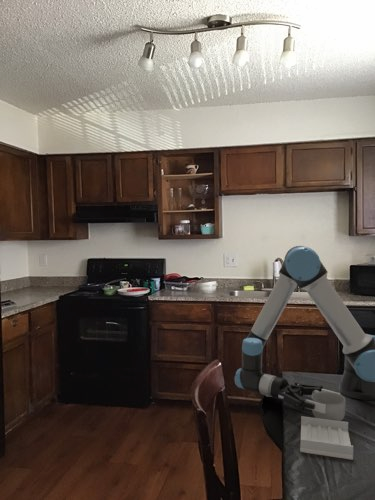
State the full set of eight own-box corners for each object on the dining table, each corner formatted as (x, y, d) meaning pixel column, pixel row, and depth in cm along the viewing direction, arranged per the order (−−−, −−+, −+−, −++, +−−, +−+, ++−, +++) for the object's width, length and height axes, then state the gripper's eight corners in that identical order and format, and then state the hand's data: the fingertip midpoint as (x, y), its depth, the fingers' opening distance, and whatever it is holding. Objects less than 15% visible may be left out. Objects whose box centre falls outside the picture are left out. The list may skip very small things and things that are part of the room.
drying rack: (301, 427, 136) (301, 416, 136) (347, 433, 132) (348, 422, 132) (300, 451, 121) (300, 439, 121) (352, 459, 117) (353, 446, 117)
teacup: (350, 427, 136) (351, 402, 136) (318, 428, 135) (319, 403, 135) (331, 409, 150) (332, 387, 150) (302, 410, 149) (302, 387, 149)
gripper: (289, 388, 164) (345, 403, 150) (256, 407, 145) (317, 426, 132) (290, 368, 164) (346, 382, 150) (257, 385, 145) (318, 403, 131)
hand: (333, 403), depth 141 cm, fingers open, 12 cm apart
